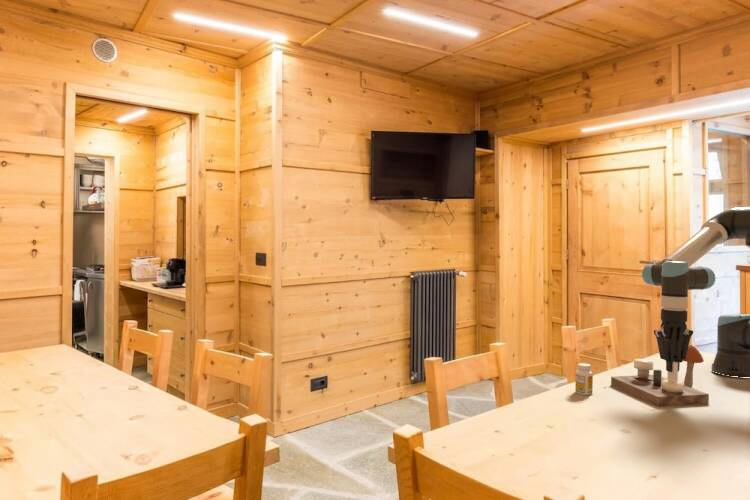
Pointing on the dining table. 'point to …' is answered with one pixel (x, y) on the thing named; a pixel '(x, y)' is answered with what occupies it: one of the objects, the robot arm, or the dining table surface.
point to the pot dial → (657, 377)
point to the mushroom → (691, 364)
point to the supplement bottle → (584, 379)
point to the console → (658, 391)
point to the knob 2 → (672, 386)
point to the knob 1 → (643, 367)
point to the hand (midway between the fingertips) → (672, 381)
